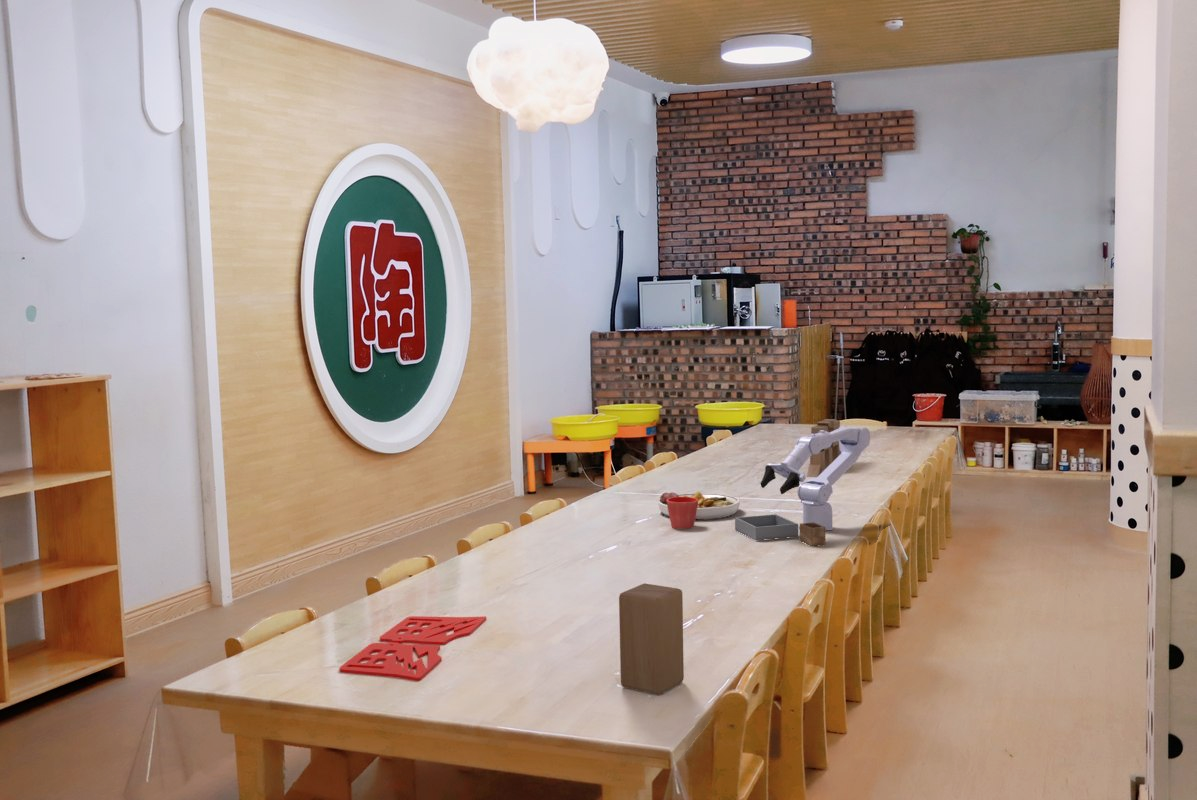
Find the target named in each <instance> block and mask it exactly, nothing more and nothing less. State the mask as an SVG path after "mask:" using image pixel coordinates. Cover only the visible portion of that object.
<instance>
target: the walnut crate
mask: <svg viewBox="0 0 1197 800" xmlns="http://www.w3.org/2000/svg"><path fill="white" fill-rule="evenodd" d="M799 526H800V528H799V542H800V541H801V542H800V543H802V542H804V543H806V544H807V546H808V545H810V546H809V547H811V546H814V547H819V546H818V545H825V546H826V530H825V527H824V526H821V525H819V524H816V523H814V522H812V523H803V522H802V523H799ZM804 543H803V544H804ZM806 544H805V545H806Z"/></svg>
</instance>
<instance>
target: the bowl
mask: <svg viewBox="0 0 1197 800" xmlns="http://www.w3.org/2000/svg"><path fill="white" fill-rule="evenodd" d="M672 497H692V498H696V499H698V506H697V512H696V517H695V519H708V520H714V519H713V518H718V519H723V518H722V517H724V518H727V516H728V517H730V515H731V516H732V515H734V514H735V513H737V512H738V510H739V508H740V505H741V504H740V503H741V502H740V499H739V498H738V497H736V496H732V495H727V494H721V493H706V492H705V493H703V492H702V493H701V492H699V491H697V492H695V493H693V492H692V493H680V494H679V493H678V494H677V493H676V492H664V493H663V494H661V496H660V497H659V499H658V500H657V502H658V503H657V504H658V508H659V510H660V512H661V513H662V514H664V515H665V516H667V517H669V512H668V506H667V499H668V498H672Z"/></svg>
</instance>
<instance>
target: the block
mask: <svg viewBox="0 0 1197 800" xmlns="http://www.w3.org/2000/svg"><path fill="white" fill-rule="evenodd" d="M683 603H684V602H683V591H682V589H680V588H676V587H672V586H664V585H657V584H649V583H641V584H639V585H637V586H635V587H632V588H630V589H627V590H625V591H623V592H621V593H619V596H618V607H619V608H618V610H619V611H618V613H619V615H618V616H619V617H618V619H619V653H620V654H619V658H620V660H619V661H620V664H619V665H620V666H619V667H620V685H621V686H622V687H623V688H624V689H630V690H635V691H639V692H644V693H647V694H648V693H649V694H653V695H658V696H659V695H663V694H665V693H666V692H668V691H669V690H672V689H673V688H675V687H676V686H678V685H680V684H681V683H683V681H684V679H685V675H684V673H685V672H684V671H685V670H684V663H685V662H684V611H683V608H684V606H683Z"/></svg>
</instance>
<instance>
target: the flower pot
mask: <svg viewBox="0 0 1197 800" xmlns="http://www.w3.org/2000/svg"><path fill="white" fill-rule="evenodd" d="M667 506H668V512H669V516H668V517H669V521H670V525H671V527H672V528H673V529H676V528H679V529H678V530H686V529H687V528H688V529H693V528H694V527H695V521H696V520H695V517H696V512H697V506H698V499H696V498H692V497H672V498H668V499H667ZM692 527H693V528H692Z"/></svg>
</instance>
